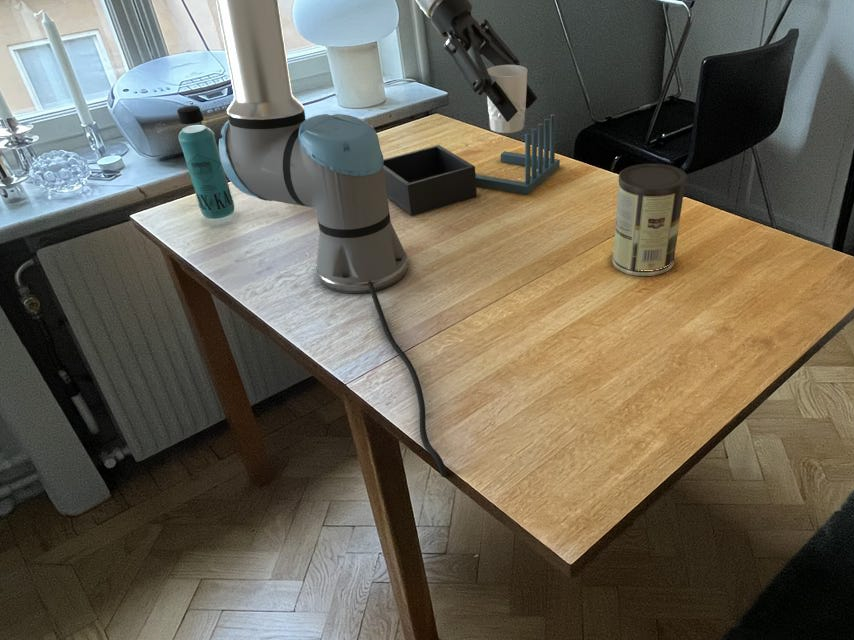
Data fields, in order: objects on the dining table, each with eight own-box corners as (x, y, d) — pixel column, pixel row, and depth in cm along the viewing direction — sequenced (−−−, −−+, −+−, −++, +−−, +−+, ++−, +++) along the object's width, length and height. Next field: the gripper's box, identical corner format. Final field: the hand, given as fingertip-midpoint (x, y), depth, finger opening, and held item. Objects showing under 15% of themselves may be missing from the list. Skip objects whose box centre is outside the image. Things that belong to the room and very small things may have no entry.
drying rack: (559, 167, 151) (561, 112, 143) (527, 195, 142) (527, 137, 134) (504, 158, 156) (503, 105, 148) (470, 184, 147) (467, 129, 139)
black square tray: (476, 196, 143) (475, 166, 138) (411, 216, 138) (407, 185, 134) (441, 173, 152) (438, 144, 147) (378, 191, 147) (374, 161, 143)
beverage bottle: (201, 217, 142) (165, 105, 128) (235, 209, 144) (202, 99, 129) (207, 229, 138) (170, 116, 123) (242, 222, 139) (209, 109, 125)
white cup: (528, 121, 145) (528, 64, 138) (526, 134, 139) (526, 76, 132) (488, 121, 145) (487, 64, 138) (485, 134, 140) (483, 76, 133)
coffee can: (646, 242, 126) (657, 157, 116) (686, 265, 119) (701, 178, 109) (598, 258, 122) (605, 172, 112) (637, 283, 116) (647, 194, 106)
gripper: (460, 8, 142) (533, 107, 147) (403, 32, 130) (485, 140, 135) (483, -24, 136) (558, 81, 142) (425, -1, 124) (510, 112, 129)
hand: (522, 109), depth 138 cm, fingers closed on white cup, 8 cm apart
